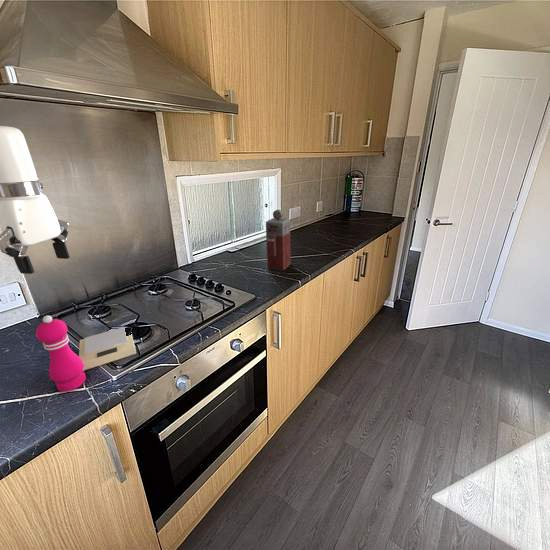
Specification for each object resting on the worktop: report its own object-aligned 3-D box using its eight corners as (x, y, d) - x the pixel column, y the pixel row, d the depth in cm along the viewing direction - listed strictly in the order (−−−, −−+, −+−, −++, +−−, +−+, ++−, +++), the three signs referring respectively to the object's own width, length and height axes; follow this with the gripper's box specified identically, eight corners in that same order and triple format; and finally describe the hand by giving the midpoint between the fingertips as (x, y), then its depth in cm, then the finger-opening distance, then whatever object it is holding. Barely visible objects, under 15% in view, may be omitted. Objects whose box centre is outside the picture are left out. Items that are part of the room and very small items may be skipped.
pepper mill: (90, 370, 80) (68, 305, 72) (85, 388, 74) (60, 320, 66) (59, 377, 77) (32, 312, 70) (51, 397, 71) (21, 327, 63)
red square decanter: (265, 269, 143) (262, 212, 132) (274, 261, 152) (273, 207, 141) (282, 272, 140) (280, 213, 129) (290, 264, 149) (290, 208, 138)
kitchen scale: (81, 371, 79) (77, 362, 78) (81, 346, 90) (79, 338, 89) (136, 353, 86) (134, 345, 85) (131, 332, 96) (129, 324, 95)
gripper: (41, 186, 71) (63, 253, 78) (-41, 196, 55) (-4, 279, 62) (67, 185, 70) (88, 253, 77) (-8, 196, 54) (25, 280, 61)
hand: (46, 265), depth 69 cm, fingers open, 9 cm apart
